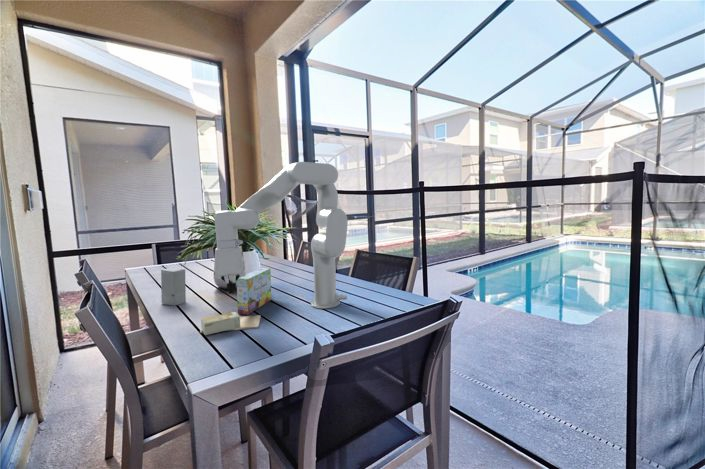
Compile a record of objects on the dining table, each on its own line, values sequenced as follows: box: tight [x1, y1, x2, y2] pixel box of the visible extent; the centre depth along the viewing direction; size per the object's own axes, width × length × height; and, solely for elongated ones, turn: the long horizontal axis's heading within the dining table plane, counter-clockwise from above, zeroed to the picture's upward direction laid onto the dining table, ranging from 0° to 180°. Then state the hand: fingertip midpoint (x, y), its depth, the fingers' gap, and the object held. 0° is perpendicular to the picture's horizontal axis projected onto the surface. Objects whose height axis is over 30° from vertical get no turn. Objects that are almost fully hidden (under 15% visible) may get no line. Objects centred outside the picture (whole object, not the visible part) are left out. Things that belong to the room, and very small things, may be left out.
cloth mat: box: [199, 314, 262, 334], centre depth 129 cm, size 20×12×1 cm, turn 101°
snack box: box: [236, 267, 272, 315], centre depth 149 cm, size 21×6×15 cm, turn 168°
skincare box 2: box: [200, 311, 241, 336], centre depth 123 cm, size 6×4×12 cm
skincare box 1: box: [160, 267, 187, 306], centre depth 156 cm, size 8×7×16 cm
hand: (232, 292), depth 128 cm, fingers closed
